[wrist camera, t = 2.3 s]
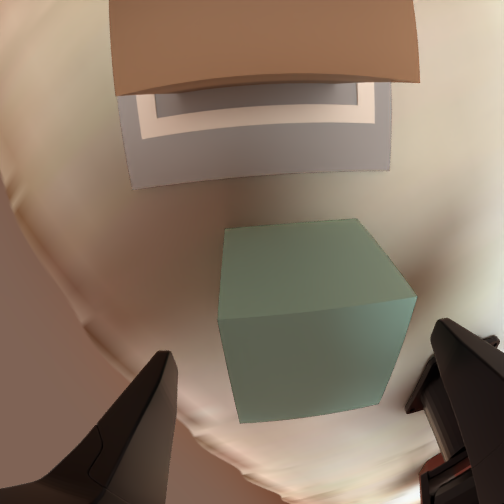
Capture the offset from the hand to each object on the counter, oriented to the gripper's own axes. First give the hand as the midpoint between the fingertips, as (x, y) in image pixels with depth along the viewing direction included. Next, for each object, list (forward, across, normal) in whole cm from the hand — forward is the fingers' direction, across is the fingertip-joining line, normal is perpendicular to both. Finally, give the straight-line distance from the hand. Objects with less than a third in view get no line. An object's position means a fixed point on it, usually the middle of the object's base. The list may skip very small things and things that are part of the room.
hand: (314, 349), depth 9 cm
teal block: (+4, 0, 0) cm, 4 cm away
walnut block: (+3, +1, -10) cm, 11 cm away
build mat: (+4, +1, -10) cm, 11 cm away
